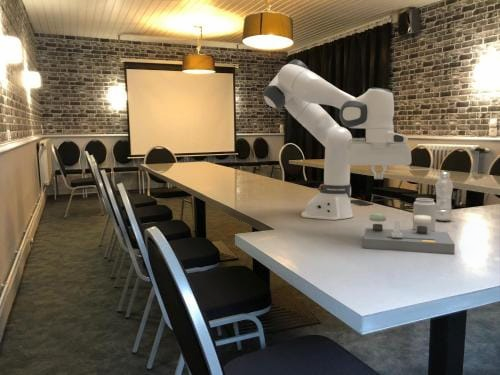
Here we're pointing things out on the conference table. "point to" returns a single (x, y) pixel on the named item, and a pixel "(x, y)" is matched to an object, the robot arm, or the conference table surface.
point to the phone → (360, 202)
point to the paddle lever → (397, 229)
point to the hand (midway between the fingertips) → (378, 179)
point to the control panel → (408, 240)
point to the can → (425, 212)
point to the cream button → (422, 219)
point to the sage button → (378, 217)
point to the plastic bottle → (443, 197)
